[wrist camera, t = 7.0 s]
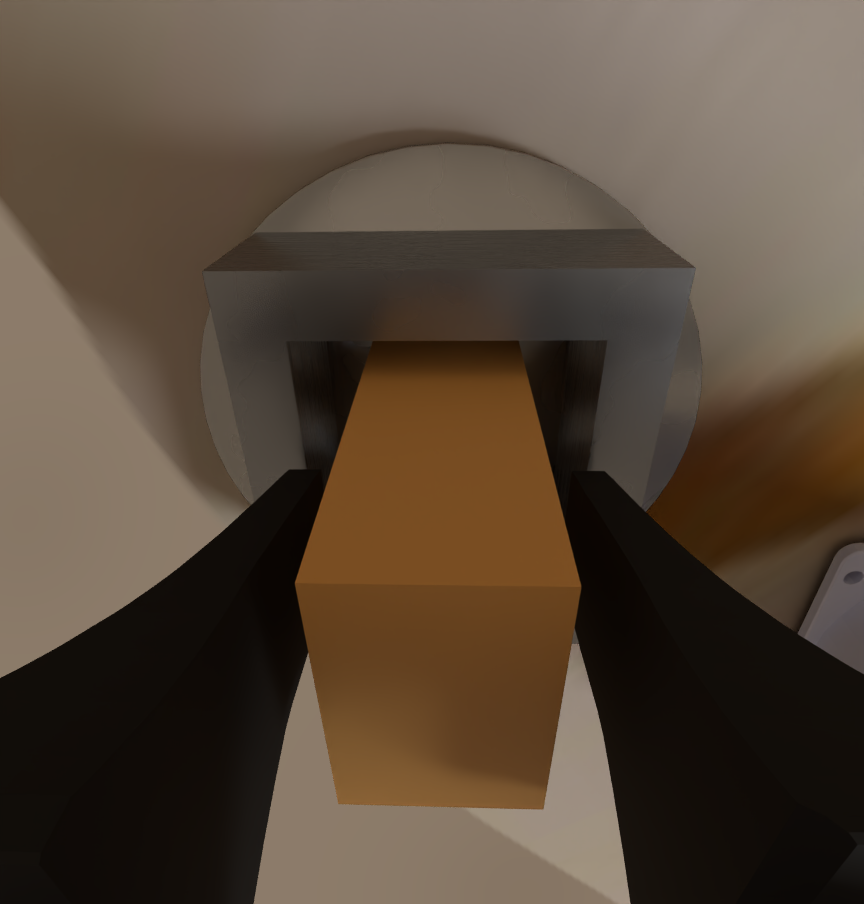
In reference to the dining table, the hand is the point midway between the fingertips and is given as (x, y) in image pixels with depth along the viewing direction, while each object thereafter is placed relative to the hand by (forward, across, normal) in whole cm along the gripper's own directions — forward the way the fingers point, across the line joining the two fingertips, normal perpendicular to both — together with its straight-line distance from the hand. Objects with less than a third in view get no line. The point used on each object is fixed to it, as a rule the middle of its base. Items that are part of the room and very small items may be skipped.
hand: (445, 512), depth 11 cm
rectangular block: (+4, 0, 0) cm, 4 cm away
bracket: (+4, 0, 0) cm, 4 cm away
